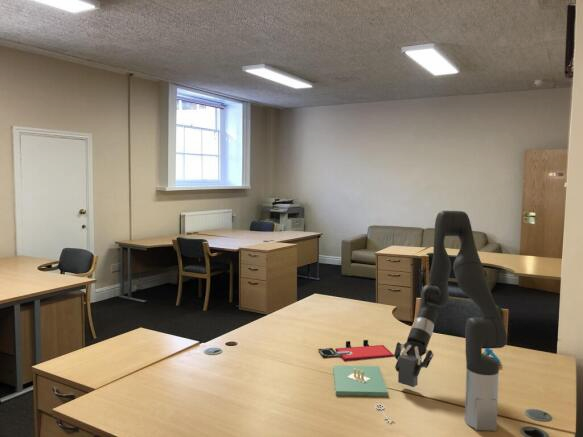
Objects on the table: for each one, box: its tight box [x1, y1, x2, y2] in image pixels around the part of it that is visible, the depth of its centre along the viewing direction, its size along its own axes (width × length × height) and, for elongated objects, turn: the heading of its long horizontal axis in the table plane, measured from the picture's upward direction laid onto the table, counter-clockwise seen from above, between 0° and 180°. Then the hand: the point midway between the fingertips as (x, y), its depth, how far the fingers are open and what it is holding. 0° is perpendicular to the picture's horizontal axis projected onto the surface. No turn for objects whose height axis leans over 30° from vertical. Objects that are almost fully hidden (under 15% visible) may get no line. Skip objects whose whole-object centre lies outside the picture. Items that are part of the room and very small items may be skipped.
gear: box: [482, 348, 501, 363], centre depth 189 cm, size 11×6×10 cm
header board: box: [332, 364, 389, 397], centre depth 169 cm, size 22×18×4 cm
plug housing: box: [397, 354, 419, 388], centre depth 162 cm, size 3×6×10 cm, turn 49°
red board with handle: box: [317, 339, 394, 362], centre depth 197 cm, size 30×3×15 cm
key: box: [374, 403, 391, 424], centre depth 146 cm, size 12×1×3 cm
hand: (405, 373), depth 161 cm, fingers closed on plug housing, 6 cm apart
